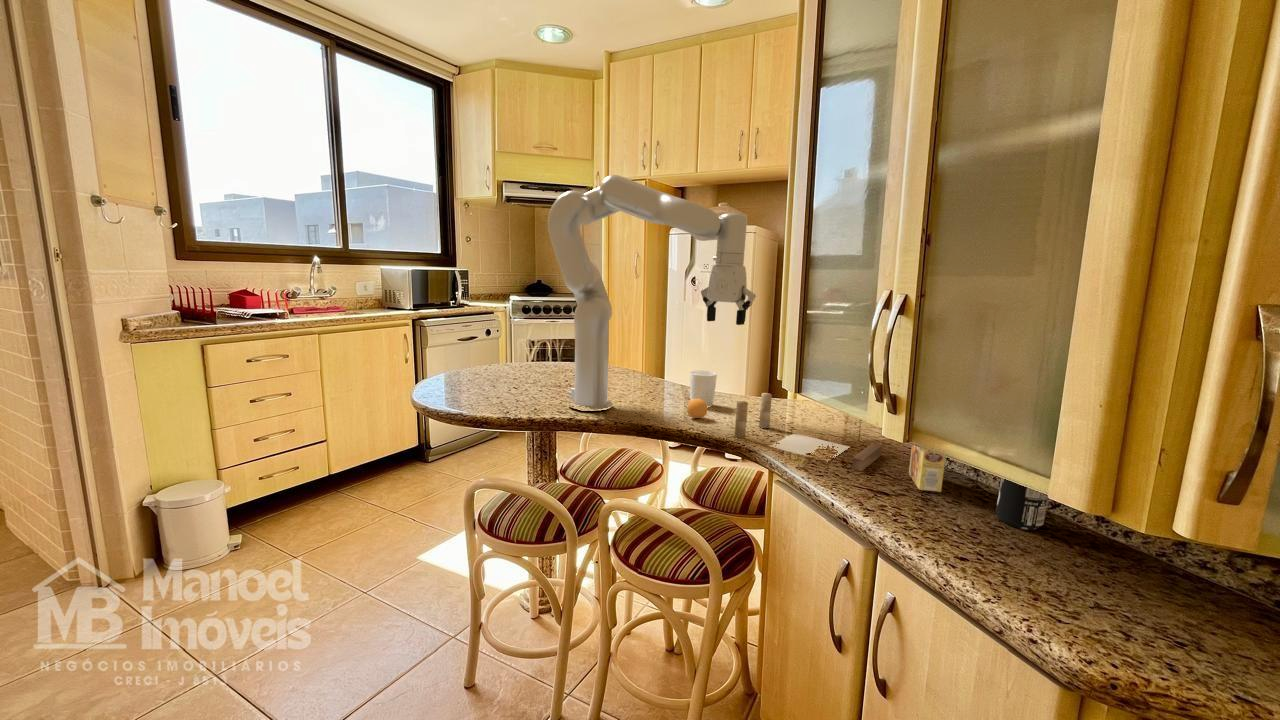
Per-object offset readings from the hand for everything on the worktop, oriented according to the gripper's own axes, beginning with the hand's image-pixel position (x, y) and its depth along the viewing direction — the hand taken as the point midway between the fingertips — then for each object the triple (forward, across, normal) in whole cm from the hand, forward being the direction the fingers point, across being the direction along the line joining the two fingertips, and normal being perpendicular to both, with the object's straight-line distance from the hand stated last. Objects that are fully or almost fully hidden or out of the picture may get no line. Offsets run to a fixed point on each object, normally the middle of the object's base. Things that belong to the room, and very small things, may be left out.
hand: (725, 322), depth 145 cm
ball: (+23, 0, -10) cm, 25 cm away
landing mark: (+26, +32, -9) cm, 42 cm away
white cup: (+26, -8, +2) cm, 27 cm away
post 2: (+26, +16, -3) cm, 31 cm away
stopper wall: (+26, +45, -8) cm, 52 cm away
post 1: (+26, +17, -16) cm, 35 cm away
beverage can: (+26, +73, -18) cm, 80 cm away
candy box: (+26, +57, -11) cm, 64 cm away
